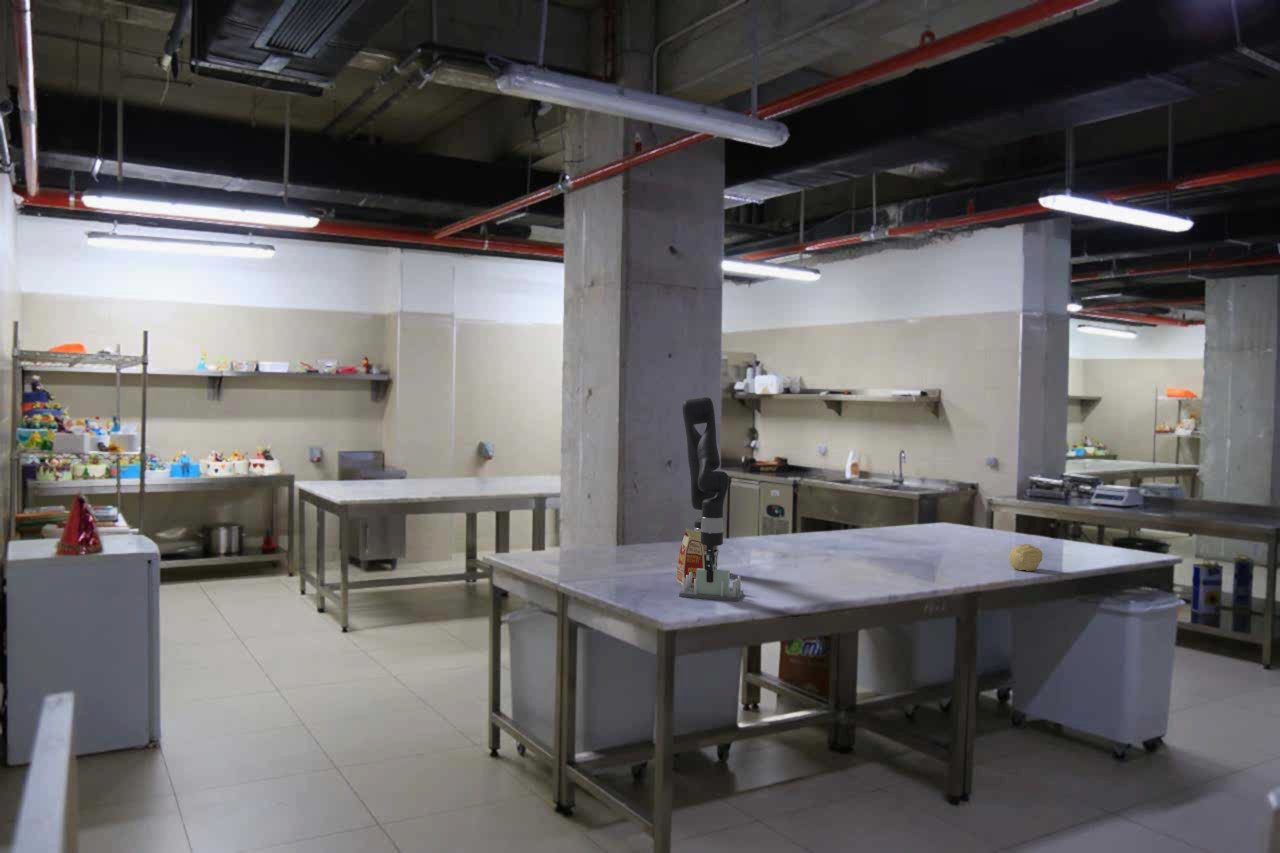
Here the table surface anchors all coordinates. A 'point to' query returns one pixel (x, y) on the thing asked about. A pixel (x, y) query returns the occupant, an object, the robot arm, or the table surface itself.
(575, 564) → the table surface
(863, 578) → the table surface
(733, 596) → the dish rack
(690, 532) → the milk carton
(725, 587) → the sage green prism
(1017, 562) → the yellow lumpy ball
